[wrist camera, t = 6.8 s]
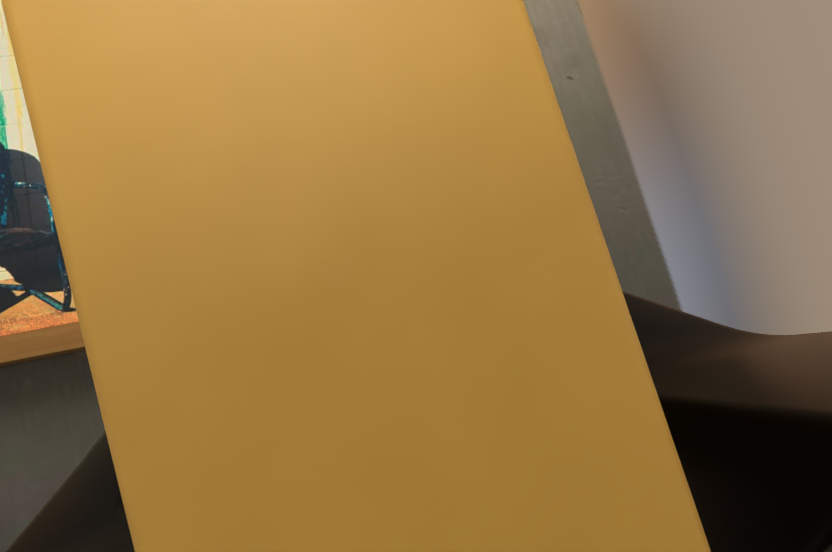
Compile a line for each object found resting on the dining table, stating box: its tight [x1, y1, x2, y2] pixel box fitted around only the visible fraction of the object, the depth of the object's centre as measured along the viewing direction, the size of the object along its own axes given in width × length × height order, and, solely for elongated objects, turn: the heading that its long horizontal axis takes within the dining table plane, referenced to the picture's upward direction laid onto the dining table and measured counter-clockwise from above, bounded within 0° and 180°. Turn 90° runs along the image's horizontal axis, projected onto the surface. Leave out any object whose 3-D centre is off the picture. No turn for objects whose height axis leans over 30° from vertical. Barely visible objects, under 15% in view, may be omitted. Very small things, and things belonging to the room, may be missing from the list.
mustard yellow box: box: [1, 0, 711, 552], centre depth 9 cm, size 5×3×13 cm, turn 17°
